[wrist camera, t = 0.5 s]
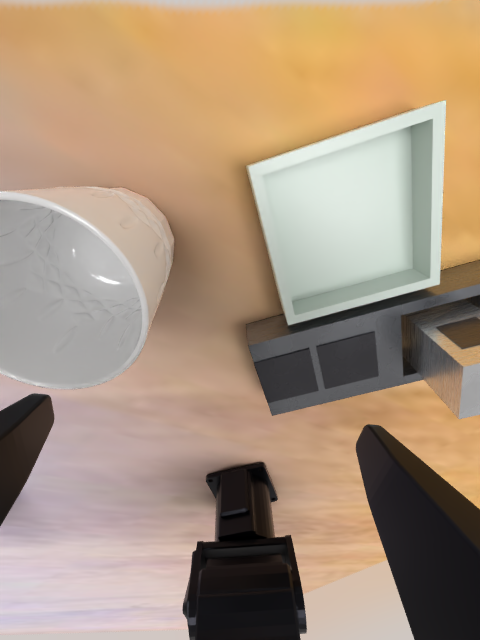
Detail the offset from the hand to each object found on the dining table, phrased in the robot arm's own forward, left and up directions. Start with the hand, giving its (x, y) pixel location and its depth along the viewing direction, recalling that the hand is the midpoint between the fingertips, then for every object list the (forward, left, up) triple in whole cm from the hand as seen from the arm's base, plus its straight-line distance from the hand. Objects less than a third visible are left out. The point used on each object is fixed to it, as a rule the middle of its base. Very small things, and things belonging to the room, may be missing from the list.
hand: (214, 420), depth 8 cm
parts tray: (+1, -8, -14) cm, 16 cm away
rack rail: (-8, -10, -14) cm, 19 cm away
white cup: (+4, +6, -14) cm, 16 cm away
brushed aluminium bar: (-8, -13, -14) cm, 21 cm away
